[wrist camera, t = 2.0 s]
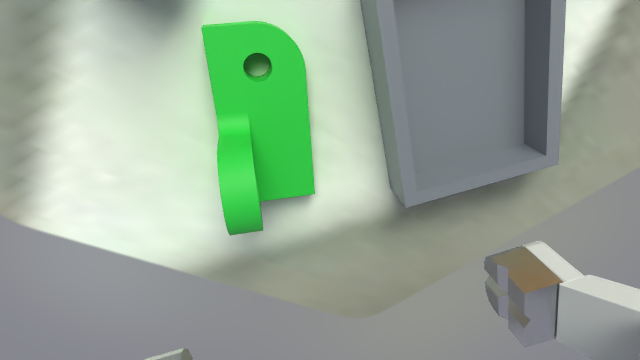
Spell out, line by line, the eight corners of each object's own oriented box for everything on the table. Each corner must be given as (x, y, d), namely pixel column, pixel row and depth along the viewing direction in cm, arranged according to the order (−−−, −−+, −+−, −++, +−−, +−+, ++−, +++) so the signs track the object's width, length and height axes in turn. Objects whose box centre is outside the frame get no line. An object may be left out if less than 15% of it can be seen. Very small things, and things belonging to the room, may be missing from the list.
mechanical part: (310, 182, 33) (331, 238, 25) (232, 192, 32) (231, 253, 25) (297, 17, 27) (318, 28, 20) (203, 24, 27) (191, 39, 19)
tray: (532, -92, 27) (570, -103, 24) (529, 148, 34) (558, 164, 31) (352, -49, 26) (368, -53, 23) (390, 187, 34) (405, 207, 31)
